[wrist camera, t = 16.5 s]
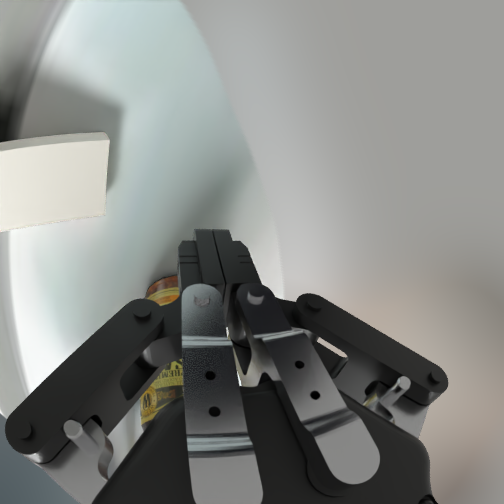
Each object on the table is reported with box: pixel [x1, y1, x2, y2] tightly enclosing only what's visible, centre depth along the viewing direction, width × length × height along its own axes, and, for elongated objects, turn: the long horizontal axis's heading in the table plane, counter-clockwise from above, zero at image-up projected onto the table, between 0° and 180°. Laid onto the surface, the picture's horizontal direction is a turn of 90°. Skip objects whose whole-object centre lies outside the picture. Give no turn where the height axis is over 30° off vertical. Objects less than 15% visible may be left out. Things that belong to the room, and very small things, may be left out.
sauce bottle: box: [140, 276, 183, 431], centre depth 17 cm, size 6×6×20 cm
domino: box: [0, 132, 110, 232], centre depth 13 cm, size 5×2×10 cm
